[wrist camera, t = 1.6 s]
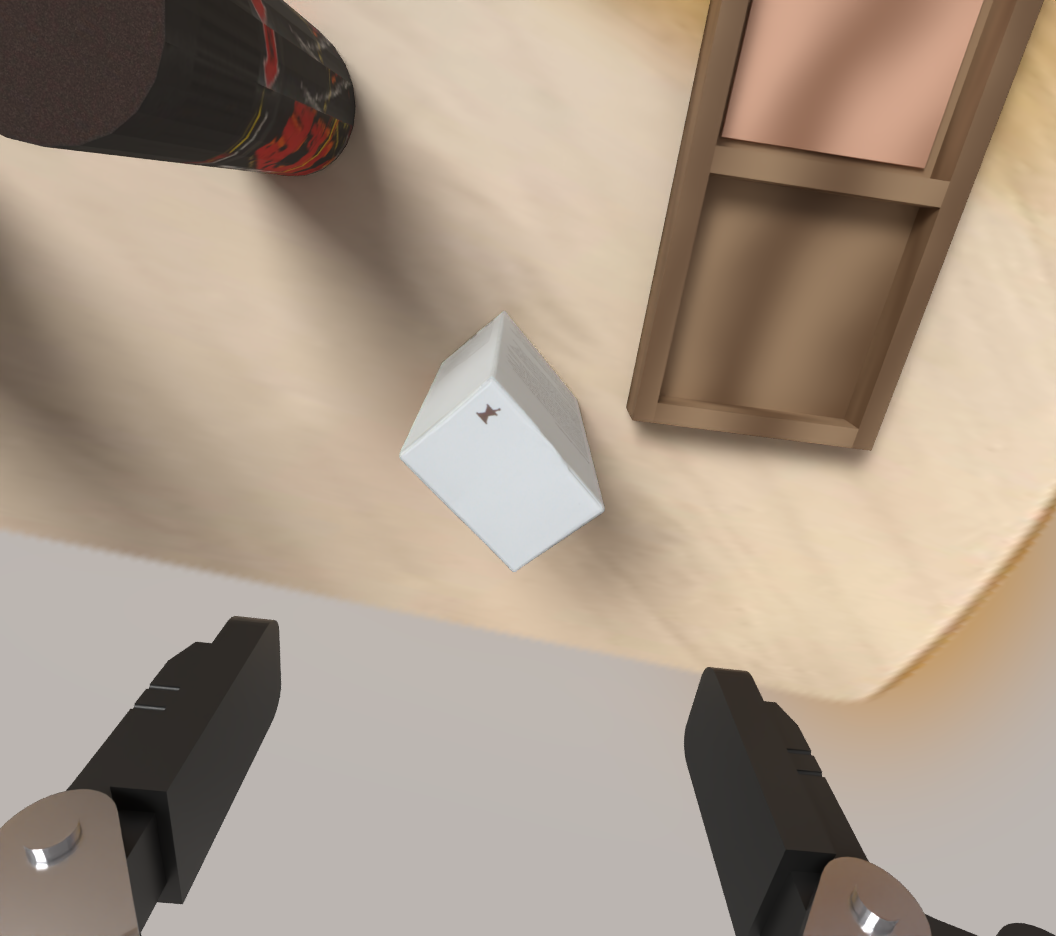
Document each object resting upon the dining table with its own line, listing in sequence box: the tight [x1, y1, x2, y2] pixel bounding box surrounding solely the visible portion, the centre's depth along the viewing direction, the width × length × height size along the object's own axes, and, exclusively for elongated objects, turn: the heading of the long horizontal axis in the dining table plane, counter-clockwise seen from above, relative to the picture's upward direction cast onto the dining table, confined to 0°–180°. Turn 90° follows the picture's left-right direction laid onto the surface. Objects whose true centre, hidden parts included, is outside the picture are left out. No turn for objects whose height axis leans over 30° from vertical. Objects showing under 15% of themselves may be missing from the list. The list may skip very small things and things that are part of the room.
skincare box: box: [399, 311, 605, 572], centre depth 25 cm, size 6×4×12 cm
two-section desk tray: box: [626, 0, 1044, 450], centre depth 26 cm, size 12×23×2 cm, turn 172°
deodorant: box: [0, 0, 355, 176], centre depth 19 cm, size 6×6×15 cm
